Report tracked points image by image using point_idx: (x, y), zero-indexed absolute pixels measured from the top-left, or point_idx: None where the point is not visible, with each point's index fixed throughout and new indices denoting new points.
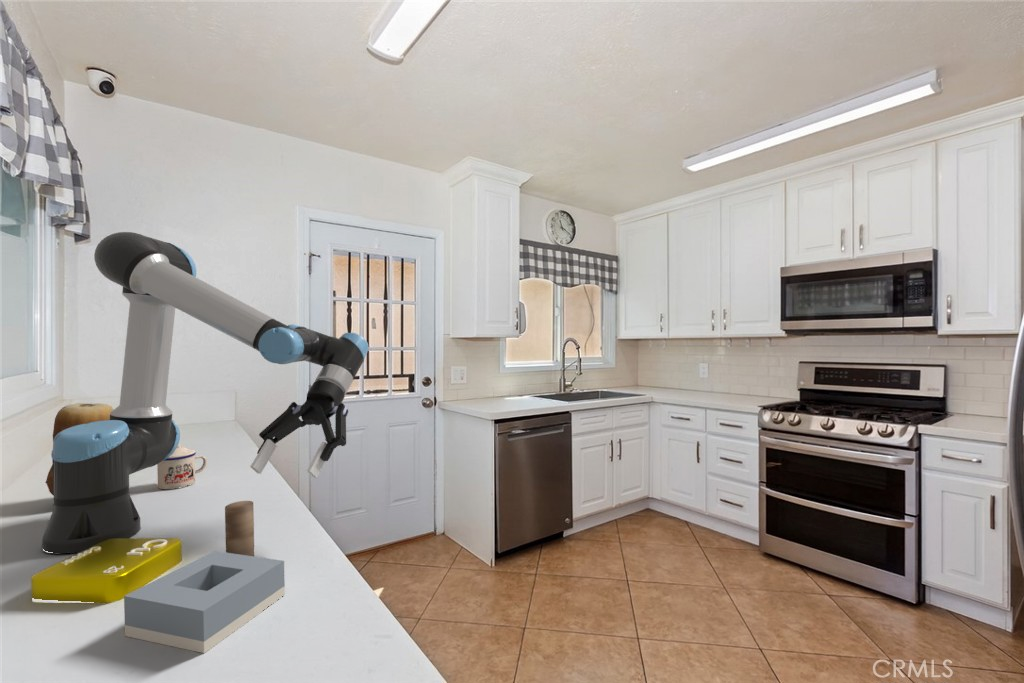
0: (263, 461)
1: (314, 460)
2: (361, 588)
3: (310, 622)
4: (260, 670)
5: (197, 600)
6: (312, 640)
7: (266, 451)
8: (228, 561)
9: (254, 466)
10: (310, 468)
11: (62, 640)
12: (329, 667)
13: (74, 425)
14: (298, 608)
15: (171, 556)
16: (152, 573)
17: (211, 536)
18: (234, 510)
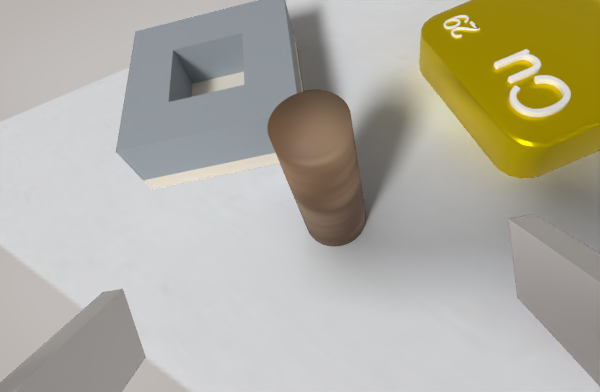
0: (550, 300)
1: (70, 326)
2: (26, 264)
3: (69, 164)
4: (80, 92)
5: (165, 36)
6: (47, 143)
7: (591, 312)
8: (224, 103)
9: (512, 228)
10: (100, 298)
11: (365, 9)
12: (7, 126)
13: None
14: (106, 177)
15: (485, 131)
16: (453, 101)
17: None
18: (288, 101)
